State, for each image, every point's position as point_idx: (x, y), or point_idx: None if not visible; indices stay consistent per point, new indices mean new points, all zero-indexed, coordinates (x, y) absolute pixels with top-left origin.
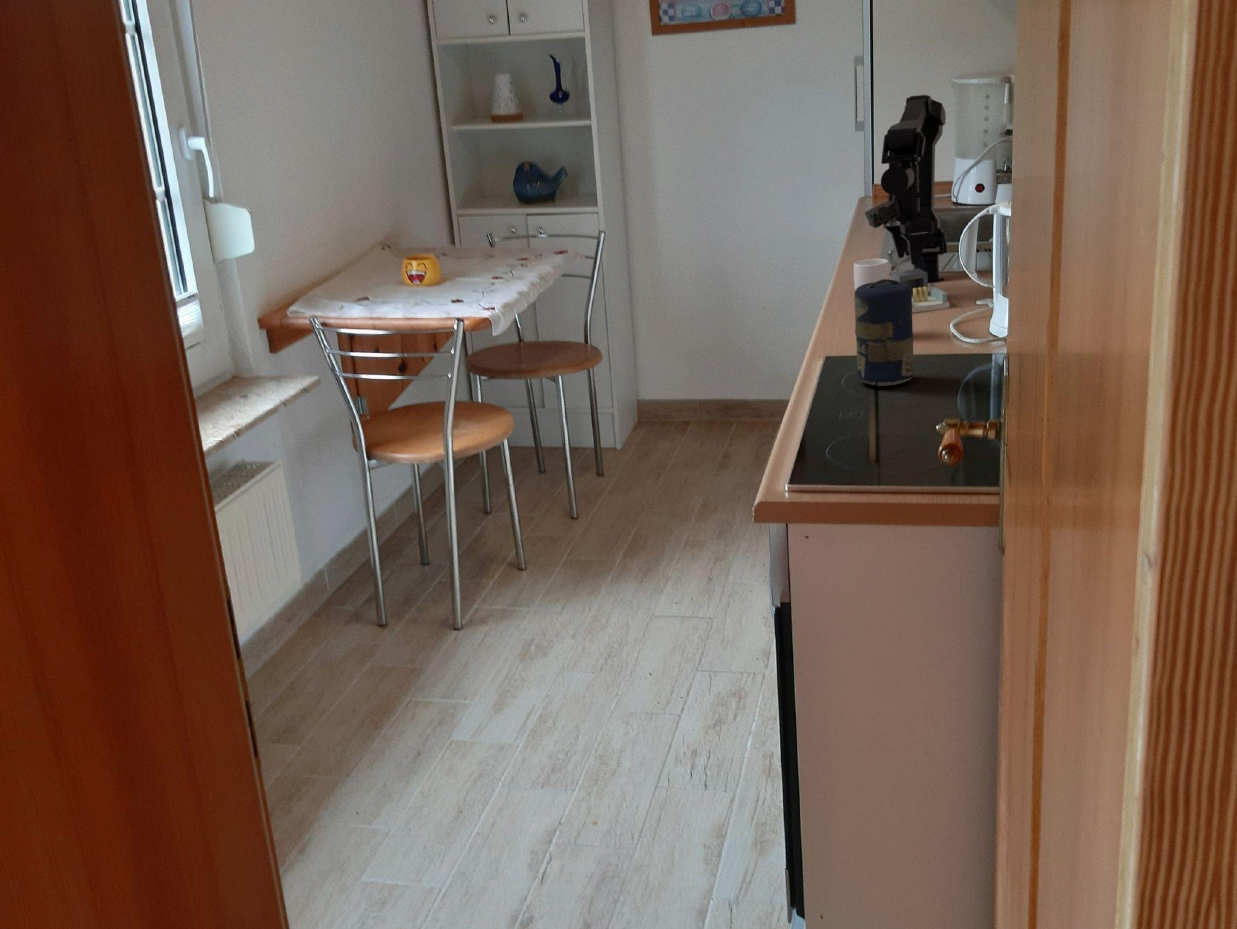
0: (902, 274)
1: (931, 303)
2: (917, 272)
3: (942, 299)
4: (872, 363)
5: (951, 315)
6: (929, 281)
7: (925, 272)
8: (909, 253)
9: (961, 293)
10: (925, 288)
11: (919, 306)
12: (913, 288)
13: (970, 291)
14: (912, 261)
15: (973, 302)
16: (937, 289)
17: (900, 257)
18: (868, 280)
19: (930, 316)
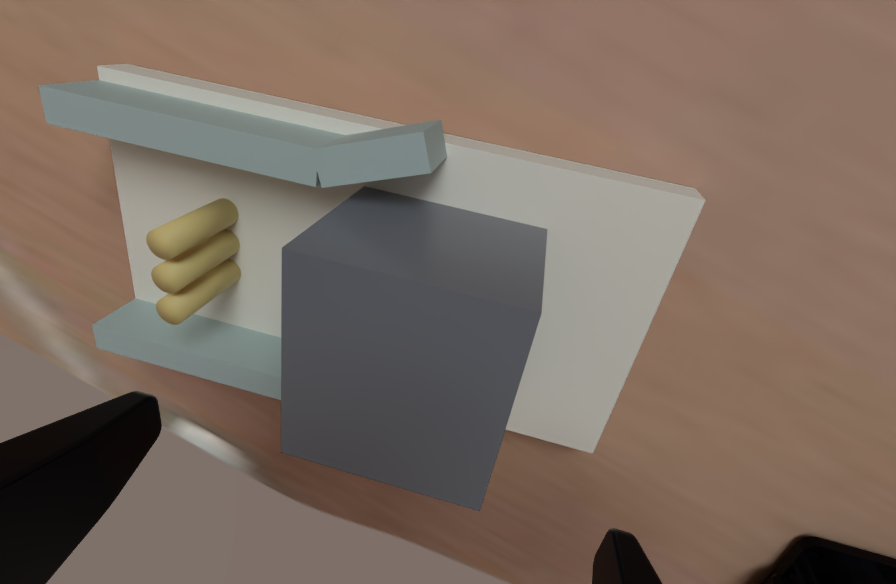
0: (349, 315)
1: (153, 257)
2: (342, 426)
3: (120, 308)
4: None
5: (16, 237)
6: (768, 578)
7: (303, 454)
8: (10, 469)
9: (413, 502)
10: (159, 301)
11: (115, 170)
12: (163, 235)
13: (422, 538)
14: (96, 410)
15: (219, 431)
16: (214, 371)
17: (603, 540)
18: None
19: (23, 150)
